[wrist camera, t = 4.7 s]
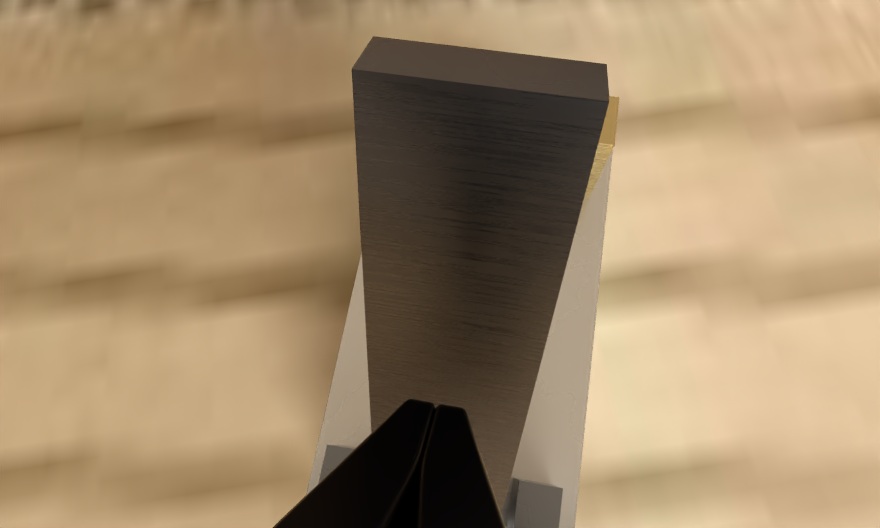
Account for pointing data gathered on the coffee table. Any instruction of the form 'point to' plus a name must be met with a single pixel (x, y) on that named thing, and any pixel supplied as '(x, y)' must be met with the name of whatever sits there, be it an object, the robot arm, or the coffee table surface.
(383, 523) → the robot arm
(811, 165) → the coffee table surface
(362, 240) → the block
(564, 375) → the white box with posts
